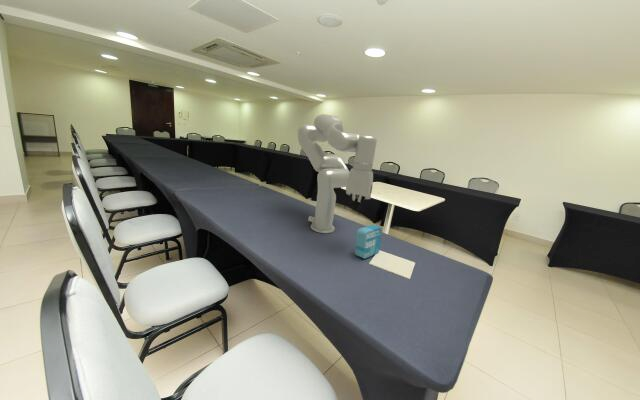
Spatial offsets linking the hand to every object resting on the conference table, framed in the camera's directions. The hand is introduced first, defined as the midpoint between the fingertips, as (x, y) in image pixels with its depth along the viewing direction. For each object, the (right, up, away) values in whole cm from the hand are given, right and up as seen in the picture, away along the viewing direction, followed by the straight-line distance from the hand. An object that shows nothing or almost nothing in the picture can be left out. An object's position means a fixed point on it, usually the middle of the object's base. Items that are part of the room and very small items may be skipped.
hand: (355, 209), depth 101 cm
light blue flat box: (+5, -20, +2) cm, 20 cm away
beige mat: (+15, -22, -3) cm, 27 cm away
